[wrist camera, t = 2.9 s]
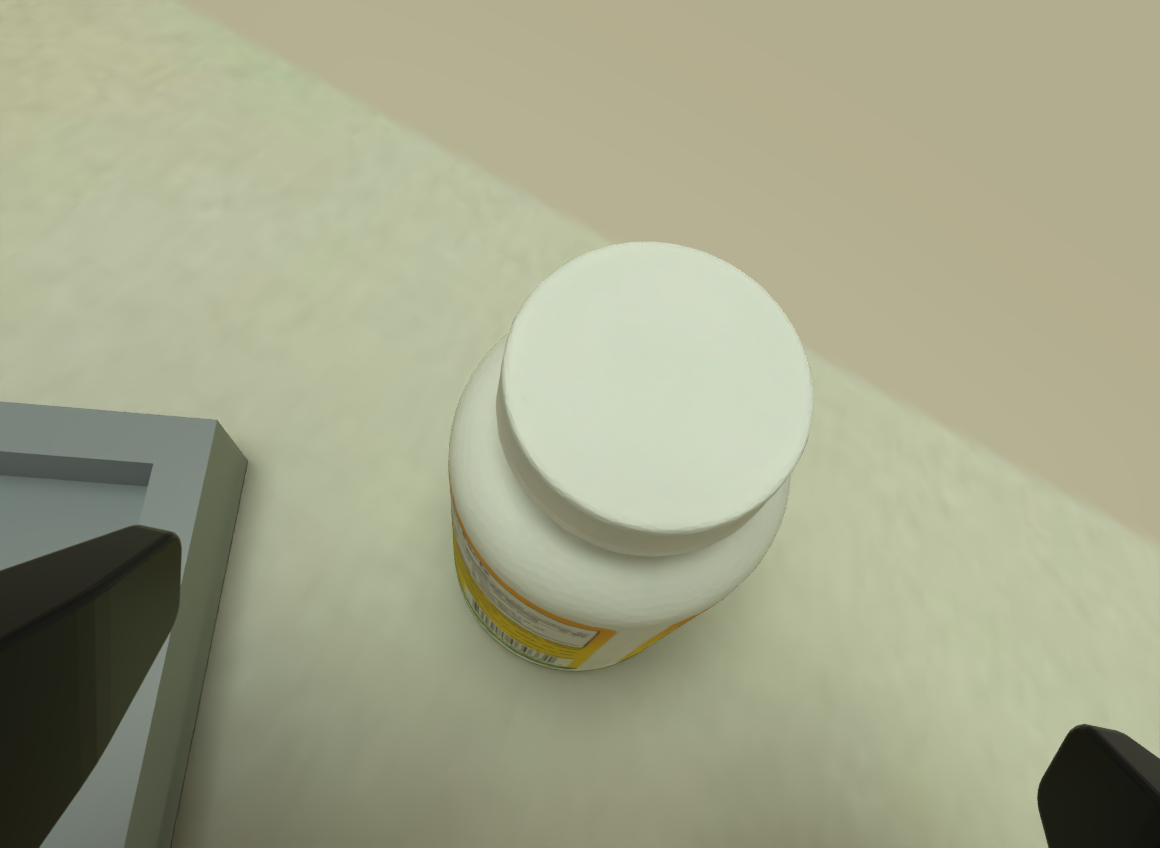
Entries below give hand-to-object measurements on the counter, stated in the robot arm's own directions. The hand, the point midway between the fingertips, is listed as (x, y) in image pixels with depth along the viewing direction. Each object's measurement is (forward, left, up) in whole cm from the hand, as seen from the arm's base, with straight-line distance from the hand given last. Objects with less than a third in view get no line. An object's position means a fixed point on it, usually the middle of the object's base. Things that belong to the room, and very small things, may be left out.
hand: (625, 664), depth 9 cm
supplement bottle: (+4, 0, -11) cm, 11 cm away
